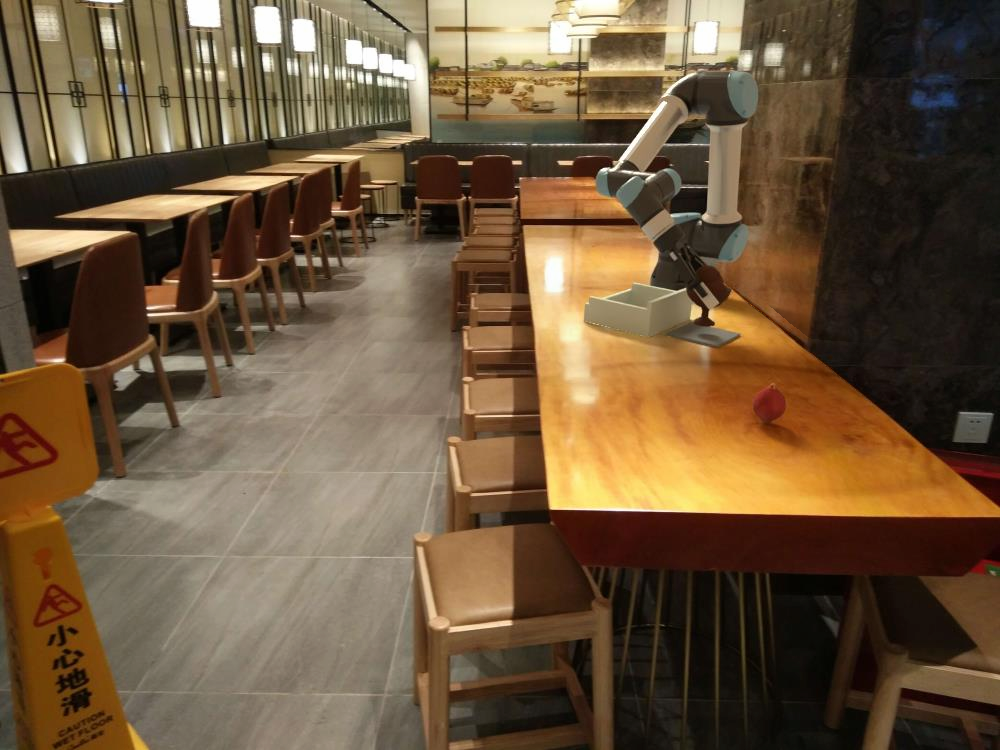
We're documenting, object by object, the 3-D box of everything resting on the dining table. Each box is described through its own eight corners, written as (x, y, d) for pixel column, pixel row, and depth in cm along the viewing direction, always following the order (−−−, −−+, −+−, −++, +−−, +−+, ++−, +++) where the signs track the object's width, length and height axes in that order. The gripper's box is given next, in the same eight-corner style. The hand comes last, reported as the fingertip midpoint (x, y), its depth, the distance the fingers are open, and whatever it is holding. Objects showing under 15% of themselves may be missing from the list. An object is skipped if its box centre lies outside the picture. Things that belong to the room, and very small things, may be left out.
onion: (744, 416, 141) (751, 377, 138) (774, 416, 142) (781, 377, 139) (757, 429, 136) (764, 388, 133) (787, 429, 136) (795, 388, 133)
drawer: (628, 305, 215) (631, 274, 212) (690, 319, 203) (694, 287, 200) (583, 321, 198) (586, 288, 195) (648, 337, 186) (651, 302, 183)
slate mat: (690, 324, 199) (690, 322, 198) (740, 335, 190) (740, 333, 190) (665, 335, 188) (665, 333, 188) (717, 347, 180) (717, 345, 180)
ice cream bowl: (728, 331, 182) (737, 271, 177) (681, 327, 184) (689, 267, 179) (724, 319, 192) (733, 262, 187) (680, 316, 194) (688, 259, 189)
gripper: (662, 235, 197) (714, 299, 197) (640, 249, 177) (697, 321, 177) (685, 216, 193) (737, 282, 193) (664, 229, 173) (723, 302, 173)
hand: (718, 301), depth 185 cm, fingers closed on ice cream bowl, 11 cm apart
